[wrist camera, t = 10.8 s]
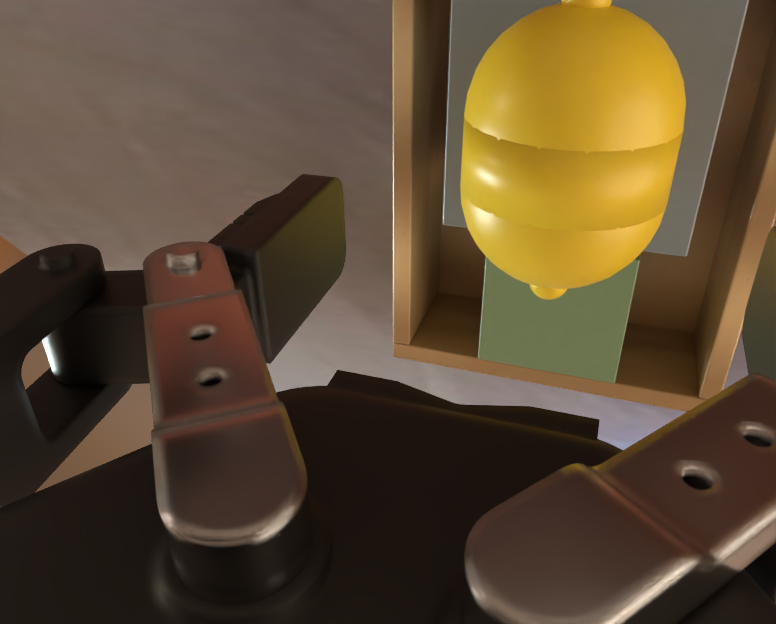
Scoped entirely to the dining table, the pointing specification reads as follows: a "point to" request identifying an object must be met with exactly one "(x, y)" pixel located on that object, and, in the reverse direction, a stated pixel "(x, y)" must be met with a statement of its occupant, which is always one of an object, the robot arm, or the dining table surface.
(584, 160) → the lemon
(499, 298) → the block sage
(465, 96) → the block grey
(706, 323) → the crate
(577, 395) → the dining table surface
